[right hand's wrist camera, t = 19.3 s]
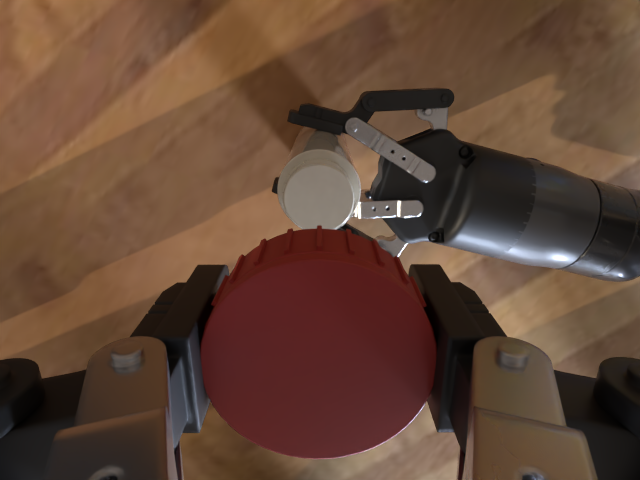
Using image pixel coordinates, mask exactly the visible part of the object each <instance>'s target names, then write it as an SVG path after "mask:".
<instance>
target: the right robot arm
mask: <svg viewBox="0 0 640 480" xmlns="http://www.w3.org/2000/svg"><path fill="white" fill-rule="evenodd" d="M225 275H227V276H229V270H228V267H227V265H198V266H197V267H196V268H195V270H194V272H193V273H192V275H191V276H190V278H189V279H188V281H187V282H186V283H176V284H174V285H173V286H171V287H170V288H168V289H166V290H165V291H163V292H162V293H161V295H160V296H159V298H158V299H157V300H156V302H155V305H153V306H152V307H151V309H150V310H149V311H148V314H146V315H145V317H144V318H143V319H142V321H141V322H140V324H139V325H138V326H137V328H136V329H135V330H134V332H133V333H132V335H131V336H130V337H129V338H125V339H121V340H118V341H115V342H112V343H110V344H108V345H106V346H104V347H103V348H101V349H100V350H98V351H97V352H96V353H95V354H94V355H93V356H92V357H91V359H90V360H89V362H88V366H87V369H86V370H83V371H79V372H75V373H70V374H65V375H59V376H54V377H49V378H44V379H42V378H41V374H40V370H39V367H38V365H37V364H36V363H35V362H34V361H32V360H29V359H23V358H13V359H5V360H0V480H183V466H182V455H181V448H180V441H179V440H180V437H181V435H182V433H200V430H201V427H202V424H203V421H204V418H205V415H206V412H207V409H208V406H209V403H210V399H209V397H208V395H207V393H206V390H205V387H204V382H203V373H202V364H201V355H200V345H201V339H202V336H203V332H204V329H205V328H204V327H205V325H206V322H207V320H208V318H209V316H210V314H211V311H212V309H213V307H214V306H213V305H211V304H212V302H213V300H214V298H215V295H216V293H217V291H218V289H219V287H220V285H221V283H222V281H223V279H224V277H225ZM408 276H409V277H411V276H413V278H414V280H415V282H416V284H417V286H418V288H419V290H420V292H421V295H422V297H423V299H424V301H425V303H426V305H427V306H426V307H424V310H425V312H426V314H427V316H428V319H429V321H430V323H431V325H432V328H433V332H434V335H435V339H436V343H437V357H436V366H435V375H434V383H433V388H432V391H431V394H430V396H429V398H428V399H427V402H428V405H429V408H430V411H431V414H432V417H433V420H434V423H435V426H436V429H437V432H455V435H456V437H457V440H458V443H459V445H460V448H459V455H458V466H457V480H640V360H639V359H634V358H627V357H614V358H609V359H606V360H604V361H603V362H602V363H601V364H600V366H599V370H598V374H597V378H591V377H586V376H580V375H575V374H570V373H565V372H560V371H556V370H553V366H552V362H551V360H550V359H549V357H548V356H547V355H546V354H545V353H544V352H543V351H542V350H540V349H539V348H537V347H536V346H534V345H532V344H530V343H528V342H525V341H522V340H519V339H515V338H511V337H507V336H506V334H505V333H504V331H503V330H502V329H501V327H500V326H499V325H498V323H497V322H496V320H495V319H494V318H493V316H492V315H491V313H489V311H488V309H487V308H486V307H485V305H484V304H482V301H481V300H480V298H479V297H478V295H477V294H476V293H475V291H473V290H472V289H470V288H468V287H467V286H465V285H464V284H462V283H460V282H451V281H450V280H449V278H448V277H447V275H446V274H445V272H444V270H443V269H442V267H441V266H440V265H439V264H412V265H411V266H410V268H409V275H408Z"/></svg>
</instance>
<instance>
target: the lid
mask: <svg viewBox="0 0 640 480" xmlns="http://www.w3.org/2000/svg"><path fill="white" fill-rule="evenodd" d="M211 305H213V306H214V307H213V309H212V311H211V314H210V316H209V318H208V320H207V322H206V325H205V327H204V328H205V329H204V332H203V336H202V339H201V345H200V355H201V364H202V373H203V382H204V387H205V390H206V393H207V395H208V397H209V399H210V401H211V403H212V405H213V406H214V407H215V409H216V410H217V412H218V413H219V414H220V416H221V417H222V418H223V419H224V420H225V421H226V422H227V423H228V424H229V425H230V426H231V427H232V428H233V429H234V430H236V431H237V432H238V433H239V434H241V435H242V436H244V437H245V438H247V439H248V440H250V441H251V442H253V443H255V444H257V445H259V446H261V447H263V448H266V449H268V450H271V451H274V452H276V453H280V454H284V455H288V456H292V457H299V458H308V459H331V458H339V457H345V456H350V455H354V454H358V453H361V452H364V451H367V450H369V449H372V448H374V447H376V446H378V445H380V444H382V443H384V442H386V441H388V440H389V439H391V438H392V437H394V436H395V435H397V434H398V433H399V432H401V431H402V430H403V429H404V428H405V427H407V426H408V425H409V424H410V423H411V422H412V421H413V419H414V418H415V417H416V416H417V415H418V413H419V412H420V411H421V409H422V408H423V407H424V405H425V403H426V401H427V399H428V398H429V396H430V394H431V391H432V388H433V383H434V375H435V366H436V357H437V343H436V339H435V335H434V332H433V328H432V325H431V323H430V321H429V319H428V316H427V314H426V312H425V310H424V307H426V306H427V305H426V303H425V301H424V299H423V297H422V295H421V292H420V290H419V288H418V286H417V284H416V282H415V280H414V278H413V276H411V277H409V276H408V275H407V273H406V272H405V270H404V268H403V266H402V264H401V261H400V259H399V258H398V257H397V256H395V257H393V256H391V255H390V254H389V253H388V252H387V251H386V250H384V249H383V248H381V247H380V246H379V244H378V241H376V240H375V239H373V241H370V240H367V239H365V238H363V237H361V236H358V235H355V234H352V233H351V230H350V229H346V232H345V231H340V230H335V229H322V225H317V229H303V230H298V231H293V229H288V231H287V233H285V234H282V235H279V236H276V237H274V238H272V239H270V240H268V241H267V240H266V239H263V240H261V242H260V245H259V246H258V247H256V248H255V249H253V250H252V251H251V252H250V253H248V254H247V255H246V256H244V255H241V256H240V257H239V259H238V261H237V264H236V266H235V268H234V269H233V271H232V272H231V274H230V275H229V276H227V275H225V277H224V279H223V281H222V283H221V285H220V287H219V289H218V291H217V293H216V295H215V298H214V300H213V302H212V304H211Z"/></svg>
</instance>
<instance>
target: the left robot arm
mask: <svg viewBox="0 0 640 480" xmlns="http://www.w3.org/2000/svg"><path fill="white" fill-rule="evenodd" d="M453 101H454V94H453V92H452V91H451V90H449V89H444V88H423V89H402V90H382V91H366V92H364V93H362V94H361V96H360V98H359V100H358V101H357V103H356V104H355V106H354V107H353V108H352V109H351V110H350V111H348V112H340V111H336V110H332V109H328V108H324V107H321V106H317V105H313V104H309V103H308V104H301V105H300V108H299V111H297V110H290V112H289V116H288V122H290V123H294V124H298V125H301V126H305V127H309V128H313V129H317V130H321V131H324V132H329V133H332V134H336V135H340V136H341V134H342V133H346V134H349V135H350V136H352V137H354V138H355V139H357V140H358V141H360V142H362V143H363V144H365V145H366V146H368V147H370V148H371V149H372V150H374V151H375V152H377V153H378V154H380V159H379V162H378V174H377V176H376V177H375V179H374V181H373V182H372V185H371V189H370V190H361V195H360V200H359V203H358V206H357V208H356V210H355V211H354V213H353V214H352V216H351V217H357V218H362V219H364V218H382V219H383V220H384V221H385V222H386V223H387V225H388V226H389V227H390V228H391V230H392V231H393V232H394V233H395V235H394V236H392V237H385V236H377V237H376V238H375V240H376V241H378V244H379V246H380V247H381V248H383V249H384V250H386V251H387V252H388V253H389V254H390V255H391V256H393V257H395V256H397V257H398V256H399V255H400V253H401V252H402V250H403V249H404V248H405V246H406V245H407V243H417V242H421V241H429V242H433V243H436V244H440V245H444V246H448V247H453V248H457V249H461V250H465V251H469V252H473V253H478V254H482V255H486V256H490V257H494V258H498V259H502V260H506V261H511V262H515V263H519V264H524V265H530V266H541V267H549V268H555V269H558V270H562V271H567V272H571V273H575V274H579V275H583V276H587V277H591V278H595V279H600V280H604V281H612V282H623V281H629V280H632V279H635V278H637V277H639V276H640V190H633V189H627V188H624V187H620V186H616V185H612V184H608V183H605V182H601V181H597V180H593V179H589V178H586V177H583V176H580V175H577V174H574V173H572V172H570V171H568V170H565V169H563V168H560V167H558V166H554V165H551V164H547V163H543V162H541V161H539V160H537V159H534V158H524V157H520V156H517V155H513V154H509V153H505V152H501V151H498V150H494V149H490V148H486V147H483V146H479V145H475V144H471V143H467V142H464V141H461V140H459V139H457V138H456V137H455V136H454V135H453V134H452V133H451V132H450V131H448V130H447V119H448V107H449V106H451V105H452V103H453ZM396 110H415V115H416V116H417V117H418V118H419V119H421V120H425V121H428V122H429V124H430V127H431V128H430V129H428V130H425V131H423V132H420V133H418V134H415V135H413V136H410V137H408V138H405V139H403V140H400V141H398V142H397V141H395V140H394V139H392V138H391V137H389V136H388V135H386V134H384V133H383V132H381V131H380V130H378V129H376V128H375V127H373V126H371V125H370V124H368V123H367V122H368V120H369V119H370V118H371V116H372V115H373V113H374V112H375V111H396ZM278 181H279V177H276V178H275V180H274V184H273V188H272V192H274V193H276V194H278V193H277V187H278ZM370 197H371V199H369V198H370ZM374 208H375V209H374ZM346 229H350V230H351V233H352V234H355V235H358V236H361V237H363V238H365V239H367V240H370V241H373V238H371V237H369V236H368V235H366V234H364V233H362V232H361V231H359V230H357V229H355V228H354V227H352V226H350V225H349V224H347V223H345V224H344V225H343V226H341V227H339V228H338V229H336V230H340V231H345V232H346Z"/></svg>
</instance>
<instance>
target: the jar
mask: <svg viewBox="0 0 640 480" xmlns="http://www.w3.org/2000/svg"><path fill="white" fill-rule="evenodd" d="M277 193H278V199H279V203H280V205H281V208H282V209H283V211H284V213H285V214H286V215H287V217H288V218H289V219H290V220H292V221H293V222H294V223H295V224H296V225H297V226H298V227H300V228H302V229H317V225H322V229H335V230H336V229H338V228H339V227H341V226H343V225H344V224H345V223H346V222H347V221H348V220H349V219H350V218H351V216H352V214H353V213H354V211H355V210H356V208H357V206H358V203H359V200H360V195H361V186H360V180H359V177H358V174H357V171H356V169H355V166H354V163H353V160H352V158H351V155H350V152H349V149H348V146H347V144H346V141H345V138H344V136H343V134H341V136H340V135H336V134H332V133H329V132H324V131H321V130H317V129H313V128H309V127H303V128H302V129H301V131H300V132H299V134H298V135H297V138H296V140H295V142H294V145H293V147H292V149H291V151H290V154H289V156H288V158H287V161H286V163H285V165H284V168H283V170H282V172H281V175H280V177H279V181H278V187H277Z"/></svg>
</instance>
